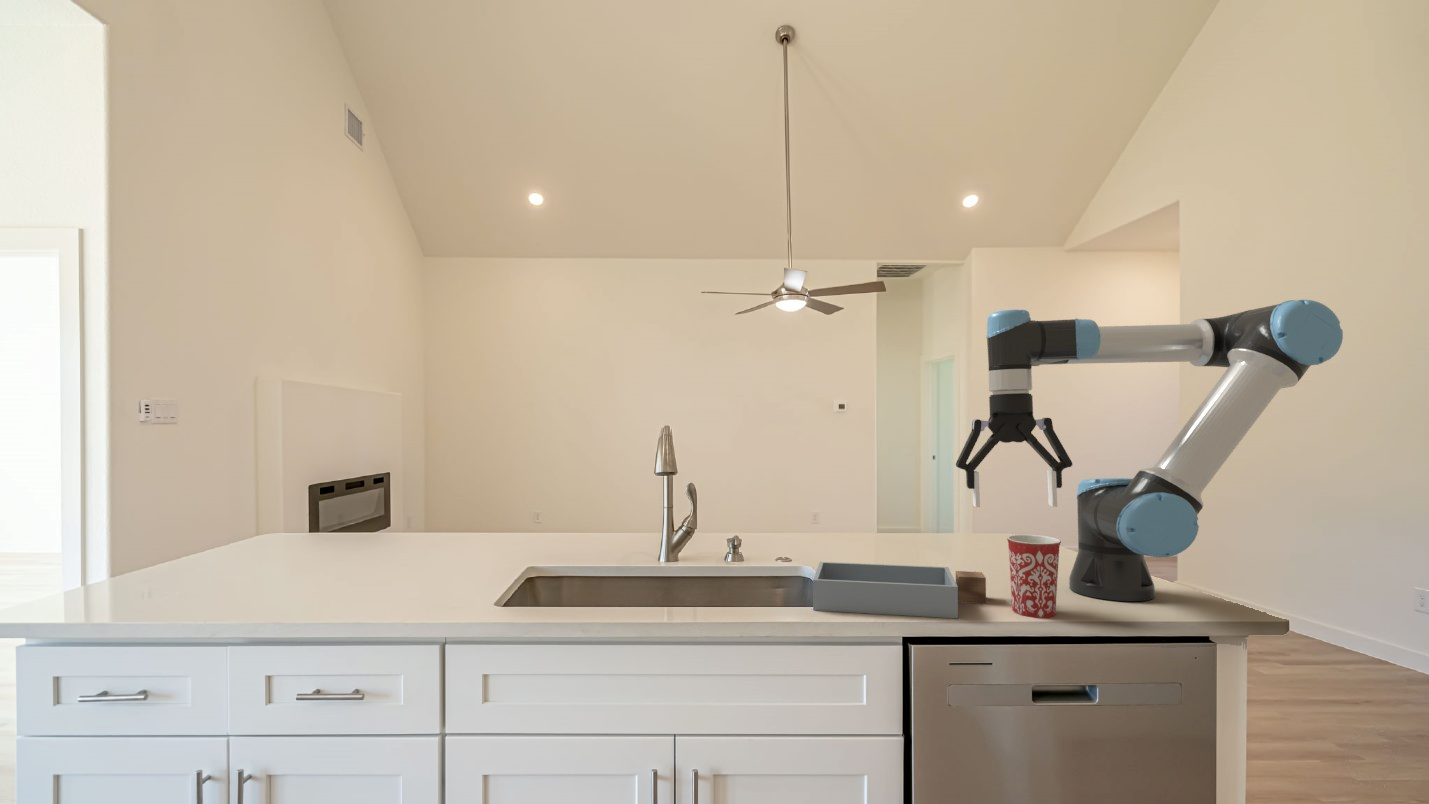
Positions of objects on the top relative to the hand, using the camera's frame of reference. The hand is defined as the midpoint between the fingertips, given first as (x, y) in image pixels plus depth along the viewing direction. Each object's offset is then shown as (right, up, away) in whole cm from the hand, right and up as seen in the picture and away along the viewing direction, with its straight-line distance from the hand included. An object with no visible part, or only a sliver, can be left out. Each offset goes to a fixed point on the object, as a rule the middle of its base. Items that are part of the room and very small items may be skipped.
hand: (1014, 506), depth 133 cm
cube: (-6, -19, +6) cm, 21 cm away
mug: (+3, -19, -1) cm, 19 cm away
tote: (-24, -19, +4) cm, 31 cm away
